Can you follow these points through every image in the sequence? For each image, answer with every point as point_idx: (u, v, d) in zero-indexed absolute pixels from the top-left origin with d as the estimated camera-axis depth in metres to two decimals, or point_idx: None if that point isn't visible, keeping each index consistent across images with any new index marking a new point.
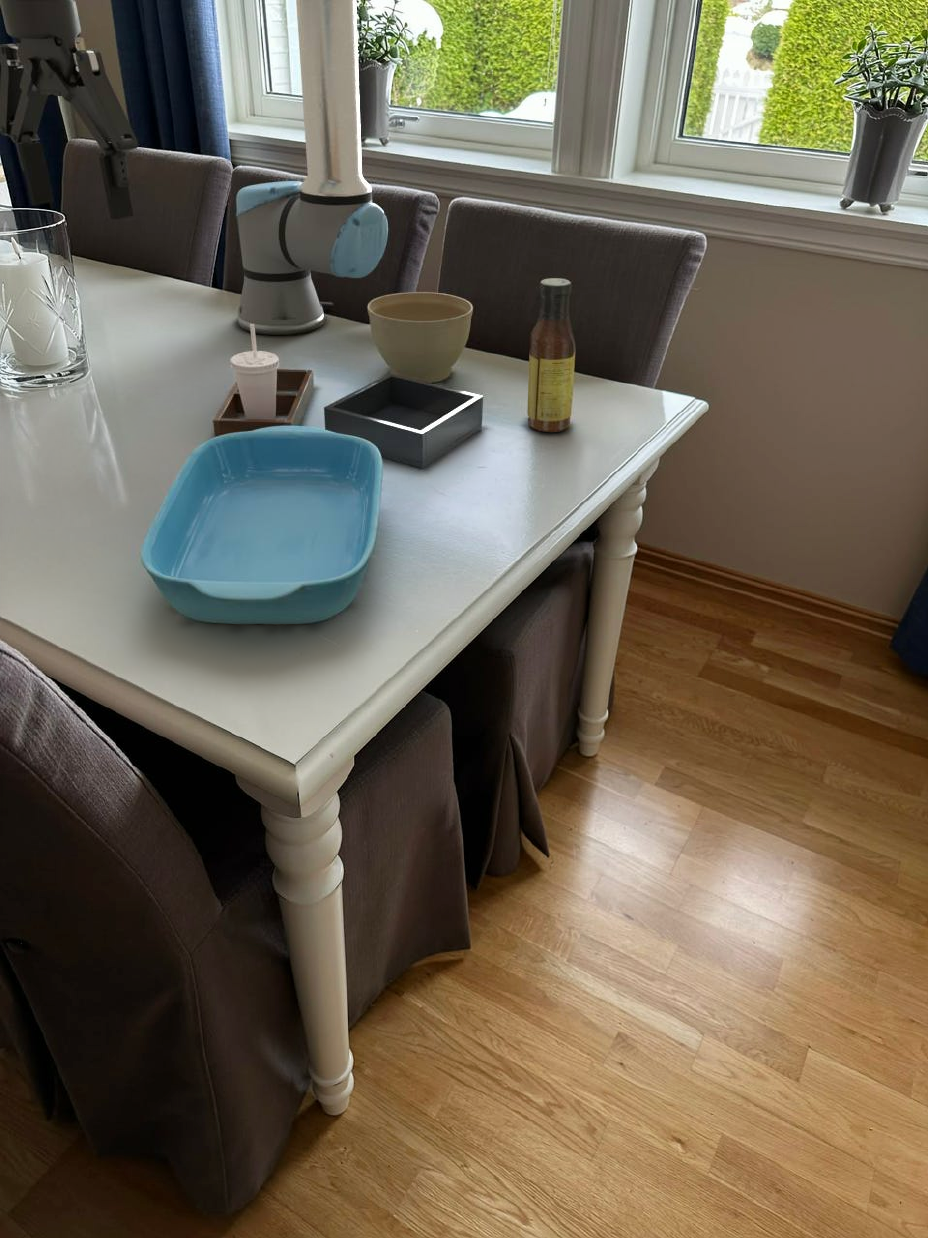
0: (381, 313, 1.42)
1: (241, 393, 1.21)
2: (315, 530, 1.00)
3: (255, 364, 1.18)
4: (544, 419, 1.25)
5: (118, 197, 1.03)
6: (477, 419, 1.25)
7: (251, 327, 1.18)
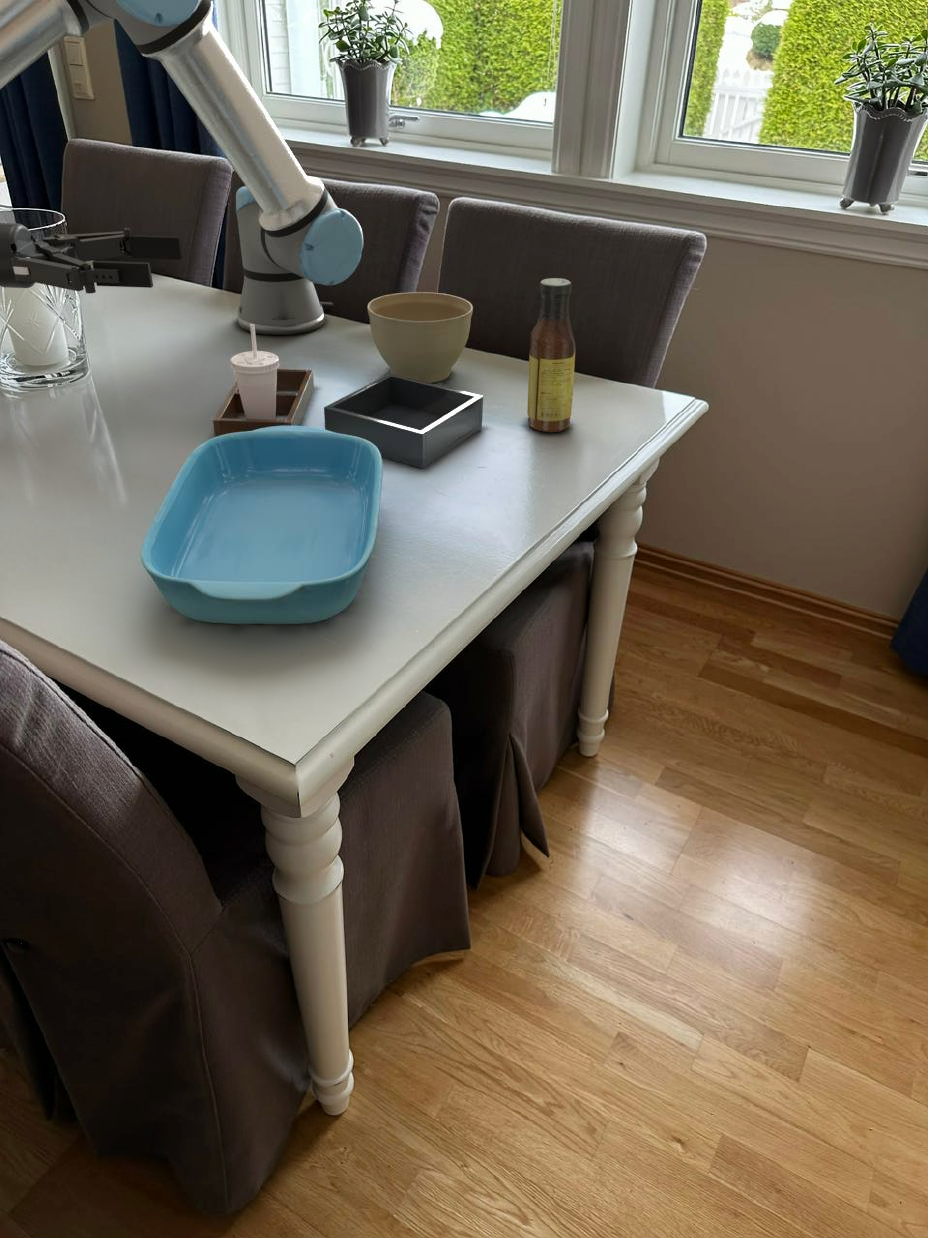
0: (381, 313, 1.42)
1: (241, 393, 1.21)
2: (315, 530, 1.00)
3: (255, 364, 1.18)
4: (544, 419, 1.25)
5: (131, 278, 1.07)
6: (477, 419, 1.25)
7: (251, 327, 1.18)
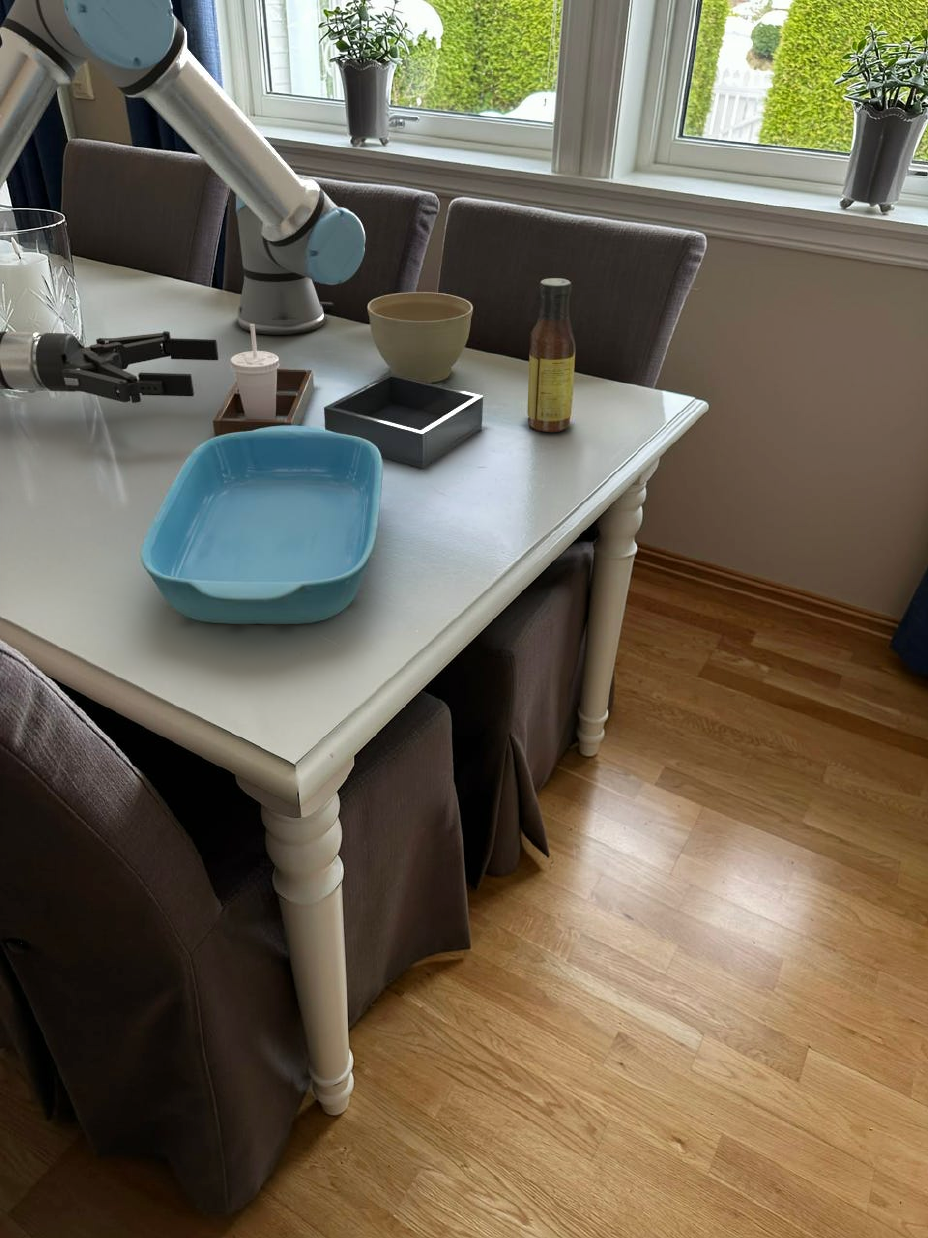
0: (381, 313, 1.42)
1: (241, 393, 1.21)
2: (315, 530, 1.00)
3: (255, 364, 1.18)
4: (544, 419, 1.25)
5: (174, 388, 1.15)
6: (477, 419, 1.25)
7: (251, 327, 1.18)
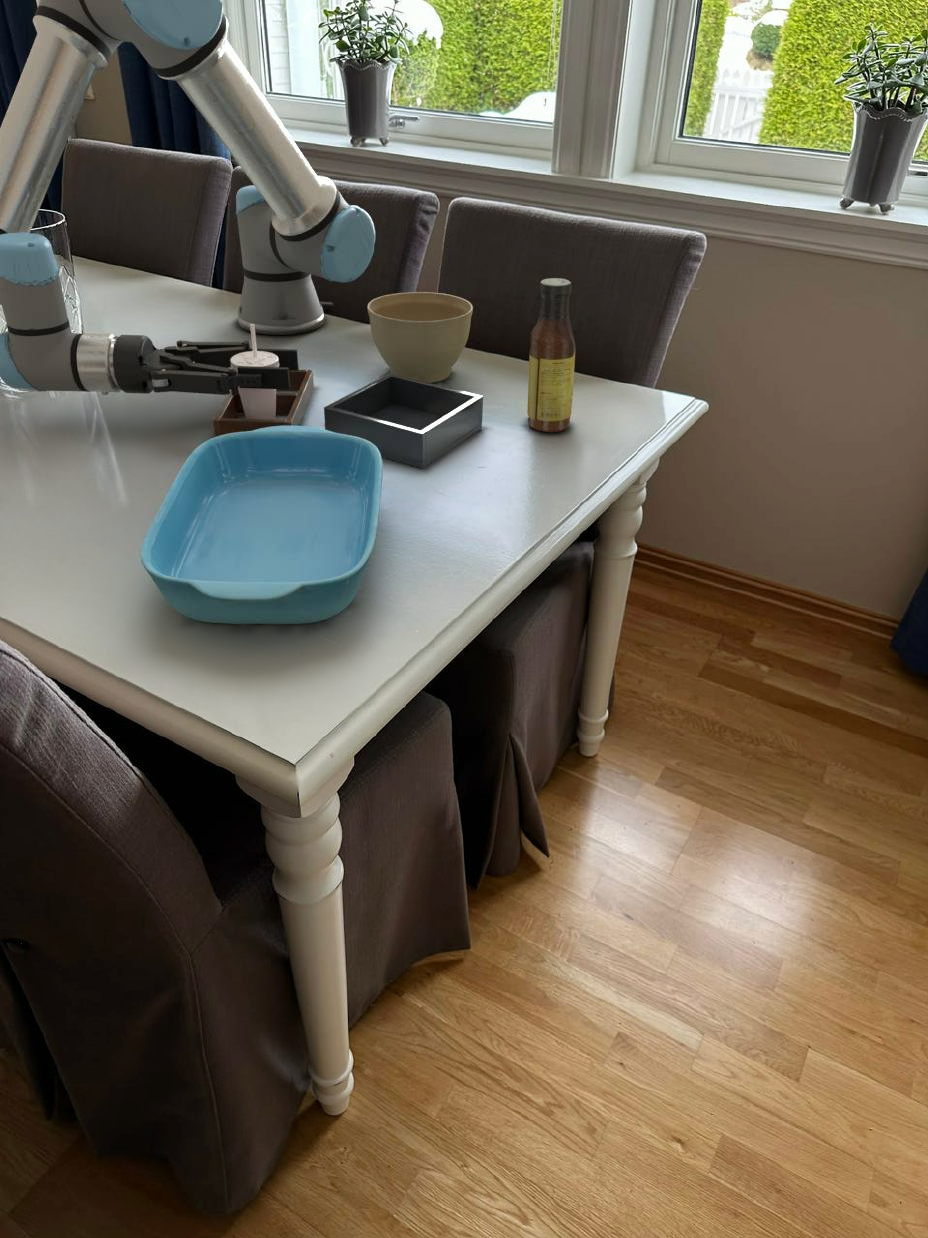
0: (381, 313, 1.42)
1: (241, 393, 1.21)
2: (315, 530, 1.00)
3: (255, 364, 1.18)
4: (544, 419, 1.25)
5: (272, 381, 1.17)
6: (477, 419, 1.25)
7: (251, 327, 1.18)
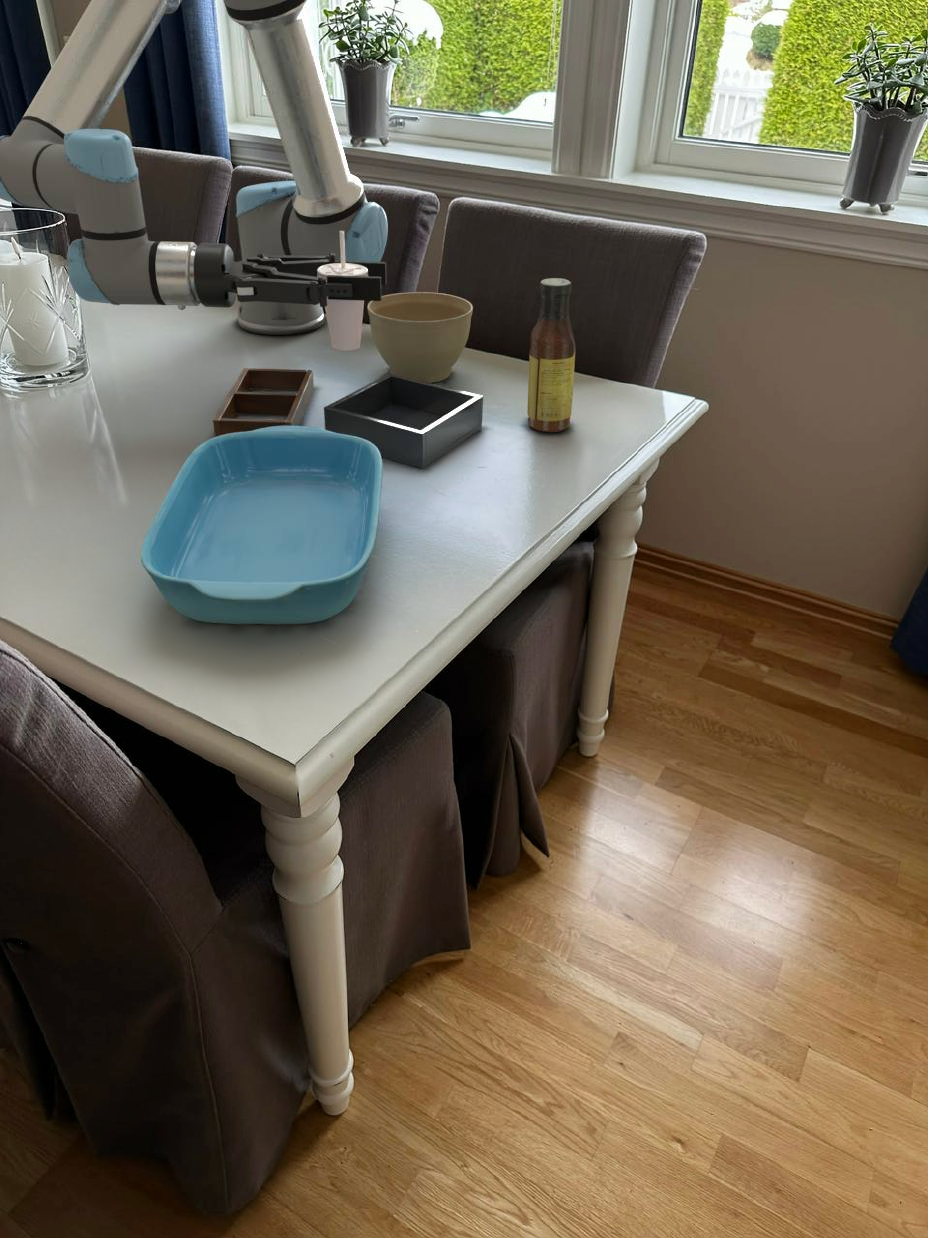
0: (381, 313, 1.42)
1: (327, 307, 1.13)
2: (315, 530, 1.00)
3: (344, 274, 1.11)
4: (544, 419, 1.25)
5: (362, 292, 1.10)
6: (477, 419, 1.25)
7: (340, 234, 1.10)
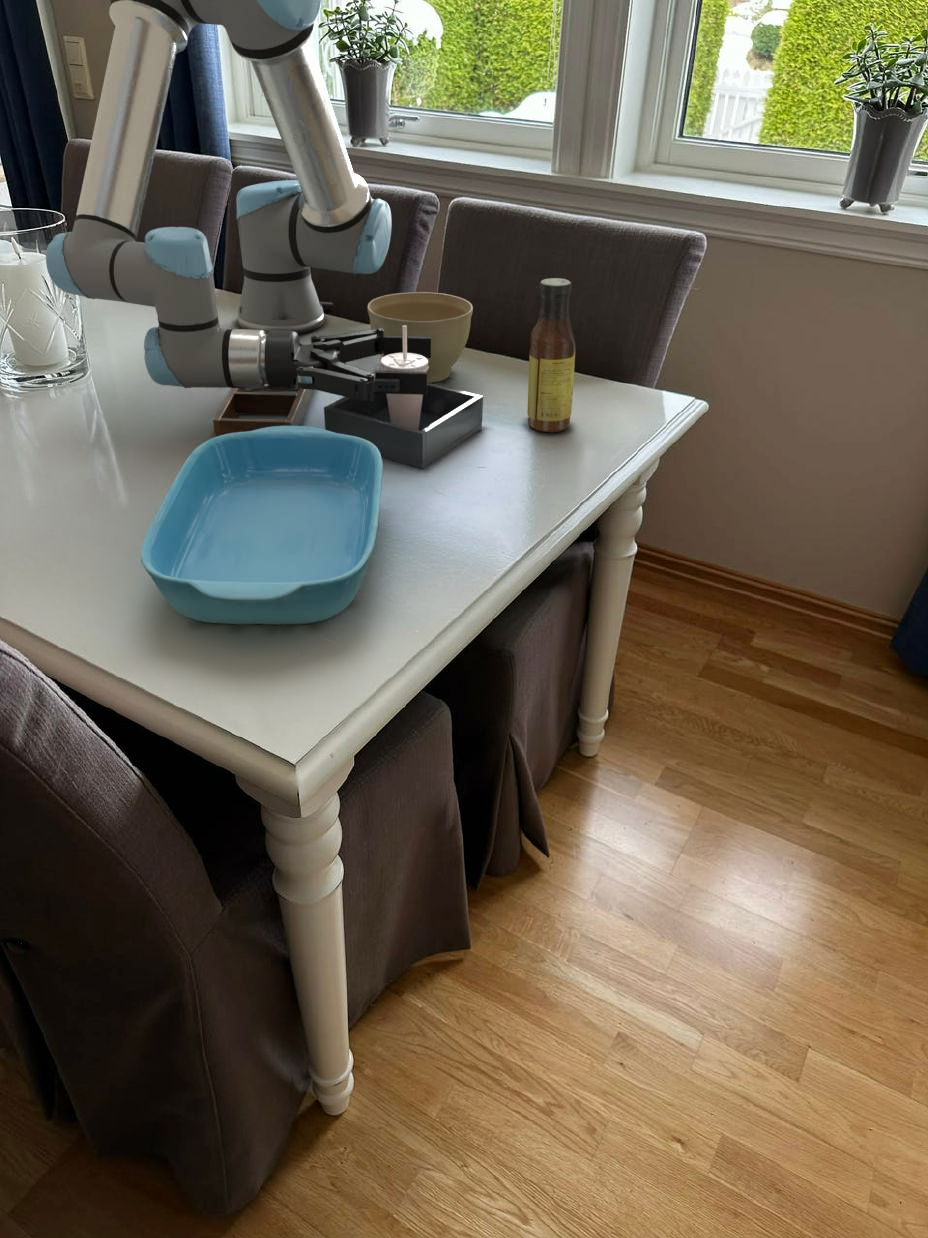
0: (381, 313, 1.42)
1: (389, 395, 1.20)
2: (315, 530, 1.00)
3: (407, 366, 1.17)
4: (544, 419, 1.25)
5: (409, 386, 1.13)
6: (477, 419, 1.25)
7: (403, 329, 1.16)
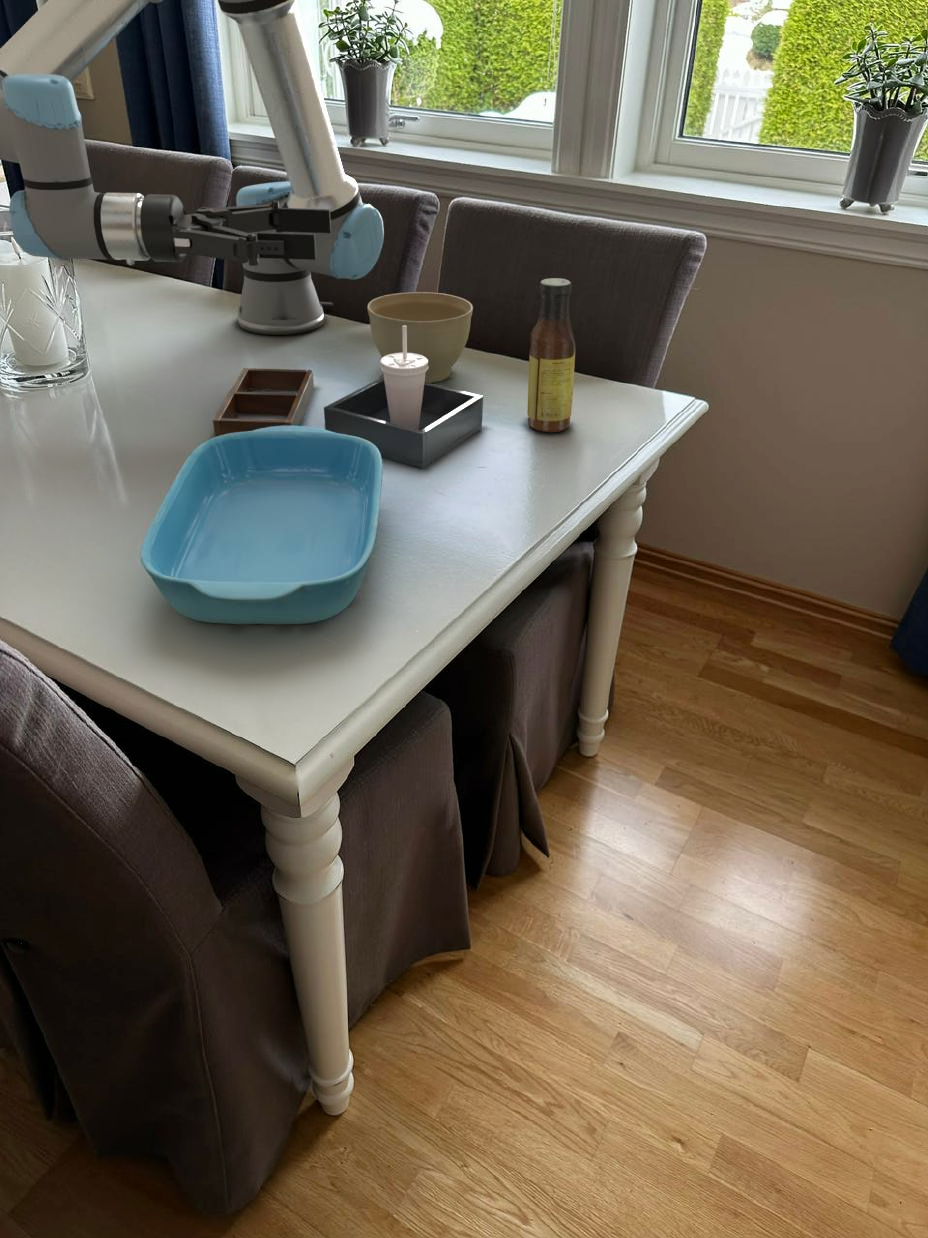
0: (381, 313, 1.42)
1: (389, 395, 1.20)
2: (315, 530, 1.00)
3: (407, 366, 1.17)
4: (544, 419, 1.25)
5: (295, 250, 1.04)
6: (477, 419, 1.25)
7: (403, 329, 1.16)
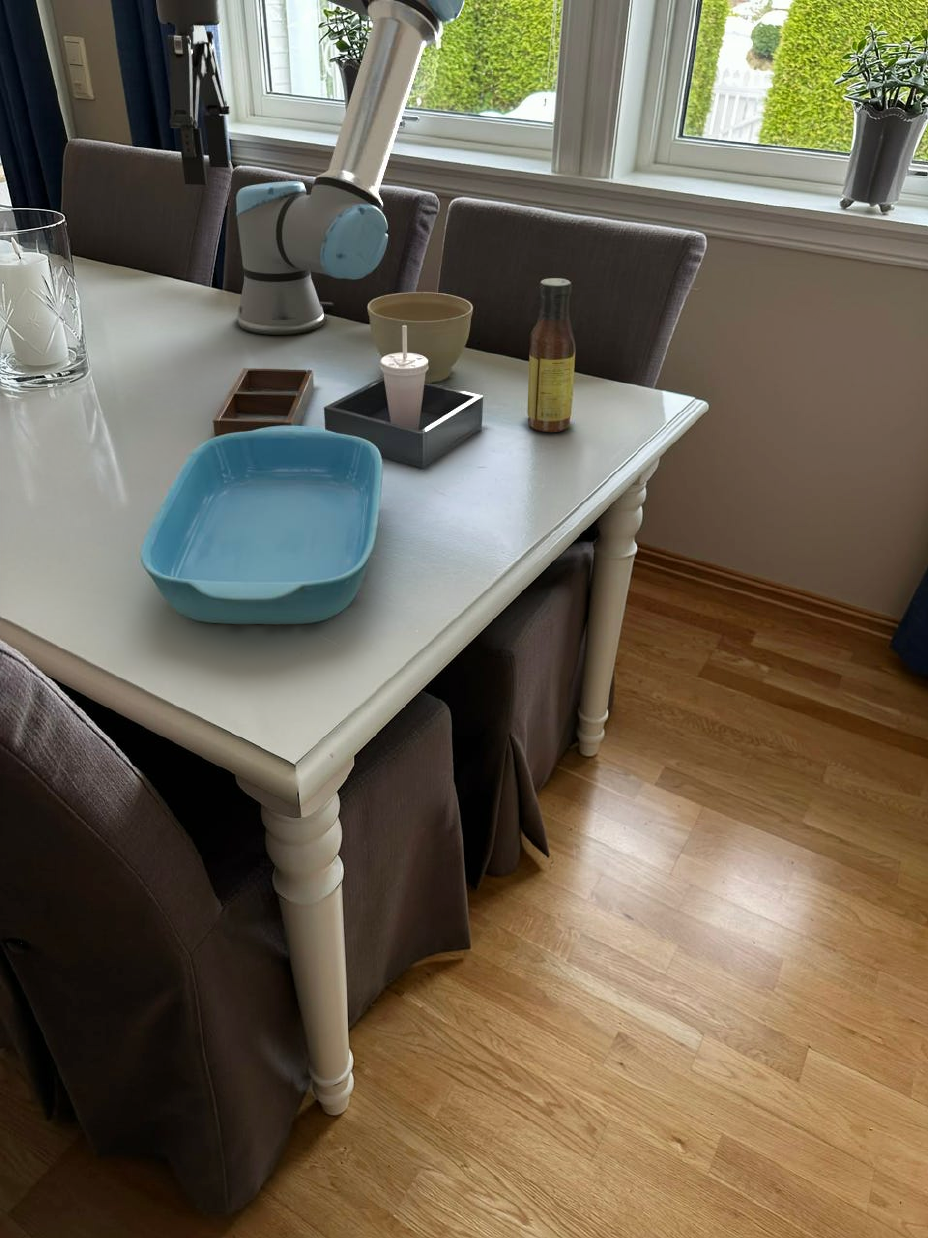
0: (381, 313, 1.42)
1: (389, 395, 1.20)
2: (315, 530, 1.00)
3: (407, 366, 1.17)
4: (544, 419, 1.25)
5: (190, 165, 1.17)
6: (477, 419, 1.25)
7: (403, 329, 1.16)
